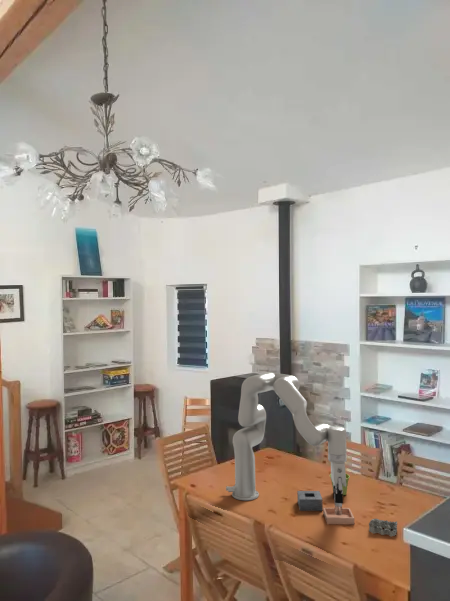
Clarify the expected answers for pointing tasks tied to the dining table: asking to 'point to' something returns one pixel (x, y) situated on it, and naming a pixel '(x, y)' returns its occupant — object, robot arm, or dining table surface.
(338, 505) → the pin
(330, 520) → the tray
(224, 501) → the dining table surface
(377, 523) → the egg carton
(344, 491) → the plant pot
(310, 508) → the socket block
